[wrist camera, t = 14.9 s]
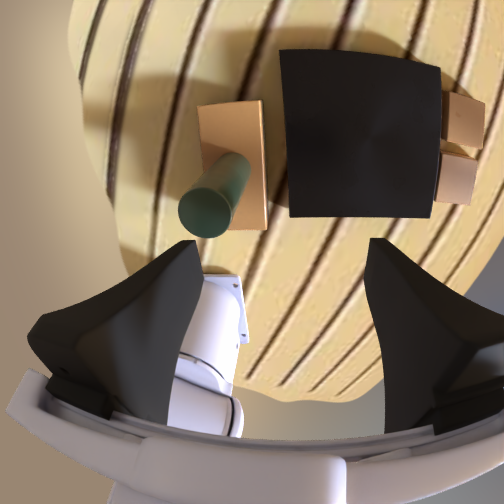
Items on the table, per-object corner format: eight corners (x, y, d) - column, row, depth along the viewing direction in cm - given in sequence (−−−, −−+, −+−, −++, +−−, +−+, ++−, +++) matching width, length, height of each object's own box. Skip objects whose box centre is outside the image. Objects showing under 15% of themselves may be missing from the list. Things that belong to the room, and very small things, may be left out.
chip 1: (474, 146, 15) (482, 149, 14) (439, 138, 16) (446, 141, 15) (477, 101, 13) (485, 103, 12) (441, 90, 14) (449, 90, 13)
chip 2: (463, 199, 18) (470, 205, 17) (429, 196, 19) (435, 202, 18) (470, 156, 16) (478, 160, 15) (435, 149, 16) (442, 153, 15)
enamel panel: (422, 211, 19) (430, 218, 18) (289, 209, 21) (289, 218, 20) (431, 68, 13) (440, 67, 12) (279, 53, 15) (278, 49, 13)
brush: (268, 215, 21) (256, 297, 14) (219, 216, 22) (181, 293, 14) (262, 99, 17) (243, 101, 9) (206, 104, 17) (143, 116, 9)
